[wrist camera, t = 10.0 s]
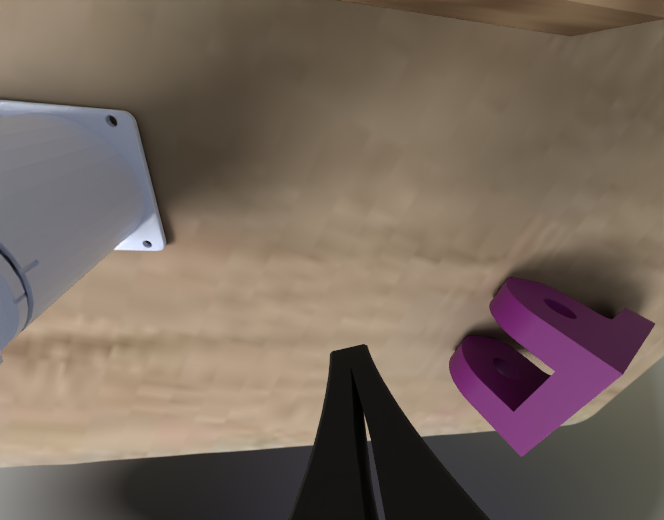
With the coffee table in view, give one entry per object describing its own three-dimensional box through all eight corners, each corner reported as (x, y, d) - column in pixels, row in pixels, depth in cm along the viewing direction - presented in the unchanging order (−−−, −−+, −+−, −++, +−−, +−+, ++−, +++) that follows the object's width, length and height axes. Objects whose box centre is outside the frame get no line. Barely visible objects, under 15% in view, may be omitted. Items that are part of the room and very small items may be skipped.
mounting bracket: (564, 264, 31) (488, 282, 21) (661, 314, 26) (623, 373, 15) (515, 324, 36) (432, 364, 25) (588, 378, 30) (521, 457, 20)
